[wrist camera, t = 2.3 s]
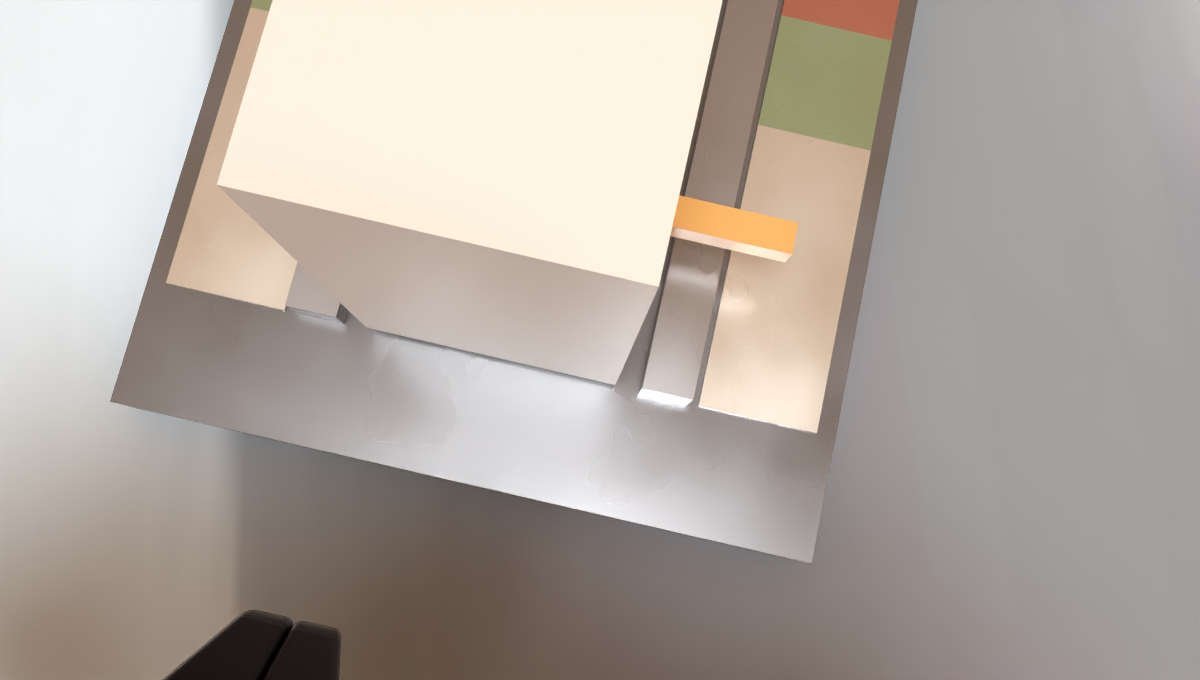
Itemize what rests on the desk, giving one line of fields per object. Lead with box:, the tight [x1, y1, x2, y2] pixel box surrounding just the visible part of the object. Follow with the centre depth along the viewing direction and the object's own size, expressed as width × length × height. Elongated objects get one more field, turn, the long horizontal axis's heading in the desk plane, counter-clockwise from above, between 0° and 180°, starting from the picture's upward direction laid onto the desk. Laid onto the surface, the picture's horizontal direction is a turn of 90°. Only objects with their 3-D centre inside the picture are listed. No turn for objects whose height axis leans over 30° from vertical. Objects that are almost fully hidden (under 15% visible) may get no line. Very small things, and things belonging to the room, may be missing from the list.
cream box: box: [217, 0, 798, 385], centre depth 16 cm, size 6×10×9 cm, turn 77°
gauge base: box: [110, 0, 918, 563], centre depth 20 cm, size 18×14×6 cm
